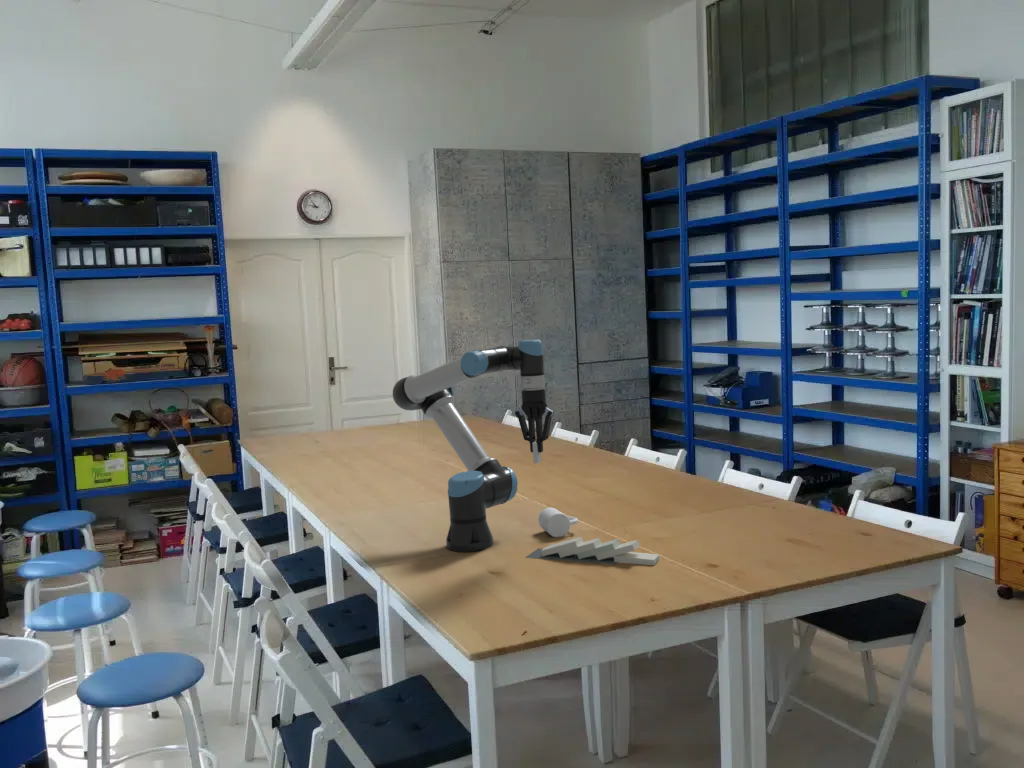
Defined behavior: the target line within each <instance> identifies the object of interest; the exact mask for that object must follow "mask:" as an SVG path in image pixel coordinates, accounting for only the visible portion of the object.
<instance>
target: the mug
mask: <svg viewBox="0 0 1024 768" xmlns="http://www.w3.org/2000/svg"><path fill="white" fill-rule="evenodd" d="M537 520H538V525H539V527H540V529H542V530H543V531H545V532H546V533H548V535H550V536H551V537H553V538H558V537H564V536H566V535H567V534H568V533H569V531H570V528H571V526H572V525H577V524H578V523H579V520H578V518H577V517H575V516H567V515H565V514H564V513H562V512H561V511H560V510H558V509H557V508H554V507H546V508H544V509H543V510H541V511H540V513H539V514H538V519H537Z"/></svg>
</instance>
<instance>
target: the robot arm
mask: <svg viewBox="0 0 1024 768" xmlns="http://www.w3.org/2000/svg"><path fill="white" fill-rule="evenodd" d="M543 347H544V346H543V342H542V341H541V340H540V339H523V340H519V342H518V346H504V345H501V346H494V347H492V348H486V349H474V350H471V351H467V352H466V353H464V354H463V356H461V357H459V358H456V359H454V360H452V361H449V362H447V363H445V364H443V365H440V366H437V367H435V368H433V369H431V370H428V371H426V372H423V373H422V374H420V375H415V374H412V375H409V376H406V377H403V378H401V379H399V380H397V381H396V383H395V384H394V386H393V389H392V398H393V401H394V402H395V404H396V405H397V407H398V408H400V409H402V410H405V411H417V410H418V411H419V410H421V411H422V412H423V414H424V415H425V417H426V418H428V419H432V420H433V421H434V422H435V424H436V425H437V427H438V429H439V430H440V432H441V433H442V434H443V436H444V438H446V441H447V442H448V443H449V445H450V446H451V447H452V449H453V450H454V453H456V455H457V457H458V458H459V460H460V461H461V462H462V464H463V466H464V467H465V468H466V469H467V471H462V472H458V473H455V474H454V475H452V476H451V477H449V480H448V481H447V496H448V497H447V498H448V508H449V509H448V510H449V521H450V524H449V528H448V532H447V536H446V540H445V541H446V542H445V543H446V549H448V550H449V551H452V552H459V553H461V552H463V553H469V552H470V553H471V552H477V551H483V550H486V549H488V548H491V547H492V546H493V545H494V537H493V534H492V531H491V528H490V527H489V524H488V522H487V510H486V509H489V508H493V507H496V506H499V505H504V504H505V503H507V502H509V501H511V500H513V498H515V497H516V494H517V491H518V484H519V481H518V477H517V475H516V473H515V472H514V470H513V469H512V468H511V467H508V466H506V465H505V466H502V465H501V464H500V462H499V460H498V459H497V458H495V457H490V455H489V454H488V453H487V451H486V450H485V448H484V447H483V446H482V444H481V442H480V441H479V440H478V438H477V436H476V435H475V434H474V432H473V431H472V429H471V428H470V426H469V425H468V424H467V422H466V420H465V419H464V418H463V416H462V415H461V413H460V412H459V411H458V409H457V408H456V407H455V405H454V403H455V397H454V395H455V393H454V386H457V385H459V384H461V383H464V382H466V381H469V380H472V379H475V378H477V377H480V376H482V375H485V374H490V373H496V372H502V371H503V372H504V371H519V372H520V373H519V374H520V386H521V387H520V388H521V392H520V393H521V407H520V408H519V409H518V410H516V411H514V414H515V416H516V418H517V419H518V420H517V421H518V423H519V427H520V430H521V433H522V437H523V440H524V441H527V442H529V450H530V453H532V455H533V456H532V458H533V464H539V463H541V462H542V453H543V452H544V442H545V441H547V440H549V435H550V430H551V425H552V424H551V423H552V418H553V416H554V414H555V410H554V409H550V408H549V407H548V404H547V402H546V389H545V386H546V380H545V369H544V368H545V367H544V355H545V354H544V349H543ZM544 414H545V417H544V419H543V415H544ZM525 415H526V417H525ZM526 419H527V420H526ZM543 420H544V423H543ZM527 423H528V424H527Z"/></svg>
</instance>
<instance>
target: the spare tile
mask: <svg viewBox="0 0 1024 768" xmlns="http://www.w3.org/2000/svg"><path fill="white" fill-rule="evenodd" d="M620 544H621V542H620V539H619V538H615V539H612V540H608V541H606V542H601V544H600V545H599V546H598V547H597V548H595V549H591V550H588V551H584V552H580V553H577V555H578V558H579V559H582V558H585V557H589V556H593V555H596V554H600V553H603V552H607V551H611V550H614V549H616V548H617V547H618V546H619V545H620Z"/></svg>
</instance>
